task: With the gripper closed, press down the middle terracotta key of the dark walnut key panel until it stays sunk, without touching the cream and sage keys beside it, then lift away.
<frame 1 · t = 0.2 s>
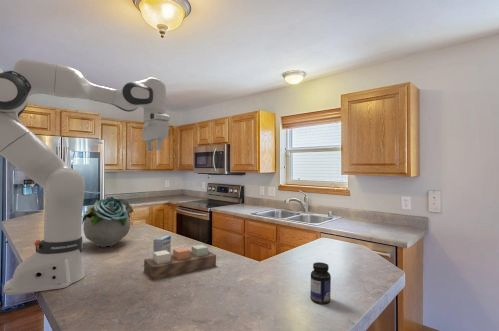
hand: (153, 150, 117), 47 cm above the countertop, tool pointing down, fingers open, 8 cm apart
pill bottle: (320, 300, 87), on the countertop
cream key: (161, 258, 107), point 5 cm above the countertop, slide at 0.0 cm
flower arrangement: (106, 245, 141), on the countertop
sage key: (199, 252, 116), point 5 cm above the countertop, slide at 0.0 cm
key panel: (181, 268, 111), on the countertop
medicine box: (161, 256, 126), on the countertop
terracotta key: (181, 255, 111), point 5 cm above the countertop, slide at 0.0 cm
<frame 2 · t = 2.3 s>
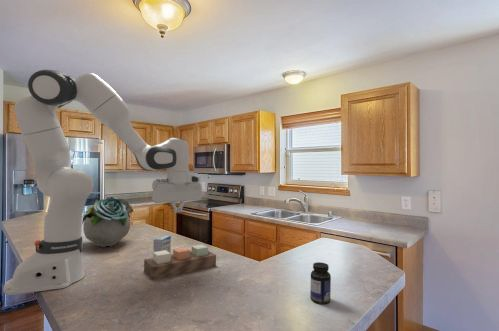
hand: (177, 212, 114), 22 cm above the countertop, tool pointing down, fingers closed
nothing on the countertop moved.
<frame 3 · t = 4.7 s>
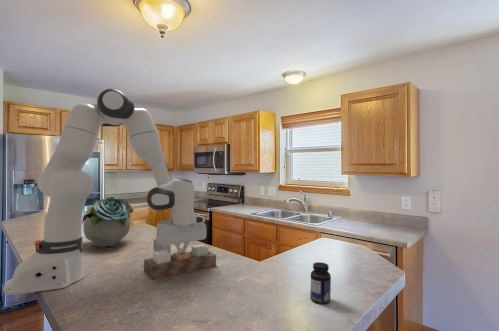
hand: (181, 253, 112), 6 cm above the countertop, tool pointing down, fingers closed, pressing on terracotta key
terracotta key: (181, 259, 111), point 4 cm above the countertop, slide at 1.5 cm, touching gripper
everything else where it was.
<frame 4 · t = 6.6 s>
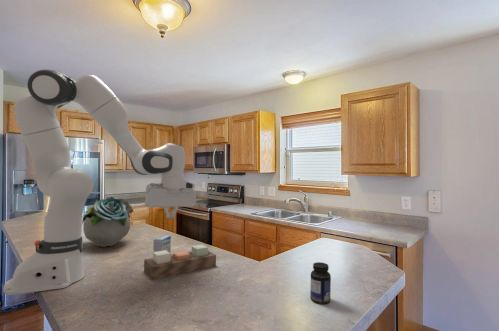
hand: (170, 218, 113), 20 cm above the countertop, tool pointing down, fingers closed
terracotta key: (181, 259, 111), point 4 cm above the countertop, slide at 1.6 cm
everything else where it was.
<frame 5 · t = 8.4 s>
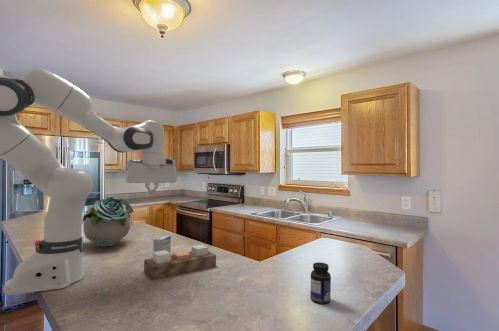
hand: (151, 193, 115), 29 cm above the countertop, tool pointing down, fingers closed
nothing on the countertop moved.
at the end: terracotta key slide at 1.6 cm; cream key slide at 0.0 cm; sage key slide at 0.0 cm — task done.
